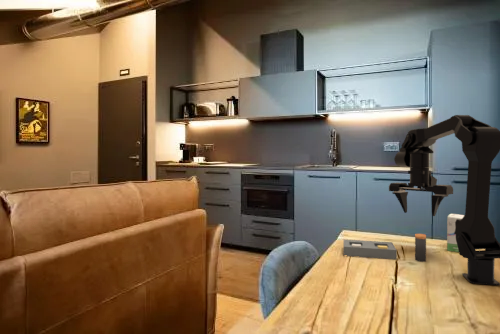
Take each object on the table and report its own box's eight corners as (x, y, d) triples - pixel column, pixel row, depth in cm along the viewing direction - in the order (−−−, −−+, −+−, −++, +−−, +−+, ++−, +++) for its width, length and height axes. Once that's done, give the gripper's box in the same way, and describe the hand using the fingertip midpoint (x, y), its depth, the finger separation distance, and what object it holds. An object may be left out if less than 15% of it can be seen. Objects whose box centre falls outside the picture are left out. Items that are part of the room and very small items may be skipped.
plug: (426, 262, 102) (427, 236, 101) (416, 261, 102) (416, 235, 102) (424, 259, 105) (424, 233, 104) (414, 258, 105) (414, 233, 105)
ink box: (463, 253, 111) (464, 218, 111) (446, 250, 114) (446, 216, 114) (465, 247, 118) (466, 214, 118) (449, 245, 121) (449, 213, 121)
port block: (396, 259, 104) (396, 248, 104) (343, 255, 109) (343, 245, 108) (391, 250, 114) (391, 240, 114) (343, 247, 118) (343, 238, 118)
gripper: (460, 167, 108) (459, 215, 109) (403, 166, 123) (403, 208, 123) (445, 168, 101) (445, 219, 102) (388, 167, 116) (387, 211, 116)
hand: (419, 214), depth 111 cm, fingers open, 9 cm apart
